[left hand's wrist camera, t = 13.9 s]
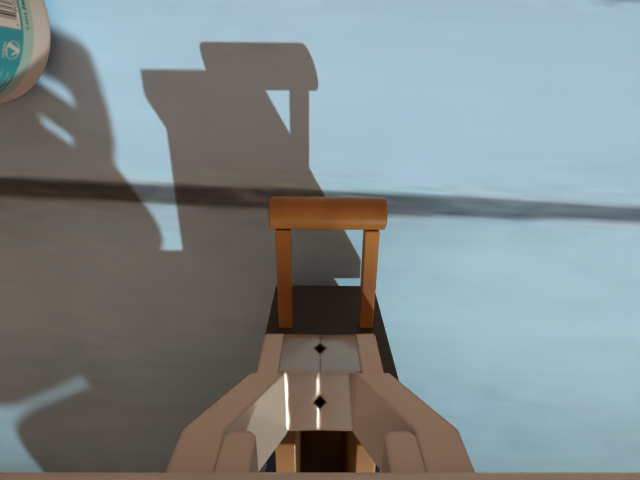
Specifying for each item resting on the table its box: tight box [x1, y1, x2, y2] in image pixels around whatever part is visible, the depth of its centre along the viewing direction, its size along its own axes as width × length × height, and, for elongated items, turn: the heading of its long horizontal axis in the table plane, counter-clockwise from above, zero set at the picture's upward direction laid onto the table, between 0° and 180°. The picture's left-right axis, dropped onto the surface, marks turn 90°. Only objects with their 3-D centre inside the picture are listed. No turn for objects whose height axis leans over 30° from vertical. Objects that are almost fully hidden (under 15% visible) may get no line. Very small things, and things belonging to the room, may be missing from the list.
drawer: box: [265, 196, 399, 473], centre depth 19 cm, size 23×5×8 cm, turn 179°
